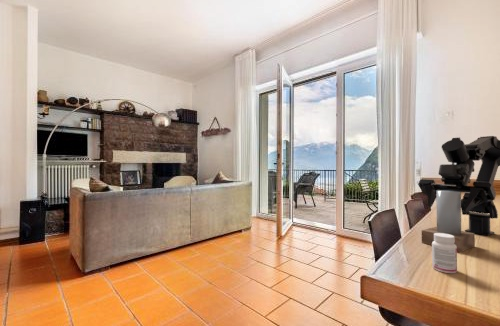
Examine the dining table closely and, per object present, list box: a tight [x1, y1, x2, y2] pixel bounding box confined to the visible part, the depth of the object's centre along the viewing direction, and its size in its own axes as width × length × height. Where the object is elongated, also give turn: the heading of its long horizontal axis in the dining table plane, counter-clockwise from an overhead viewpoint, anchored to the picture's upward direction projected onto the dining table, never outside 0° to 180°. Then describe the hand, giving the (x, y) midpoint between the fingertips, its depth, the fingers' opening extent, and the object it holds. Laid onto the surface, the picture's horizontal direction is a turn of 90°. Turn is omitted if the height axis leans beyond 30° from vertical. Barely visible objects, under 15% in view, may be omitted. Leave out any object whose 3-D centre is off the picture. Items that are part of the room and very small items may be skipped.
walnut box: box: [421, 226, 476, 253], centre depth 77 cm, size 10×10×4 cm
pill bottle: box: [431, 233, 458, 274], centre depth 59 cm, size 5×5×8 cm
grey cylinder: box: [435, 190, 462, 235], centre depth 76 cm, size 6×6×13 cm
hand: (446, 208), depth 76 cm, fingers open, 9 cm apart
